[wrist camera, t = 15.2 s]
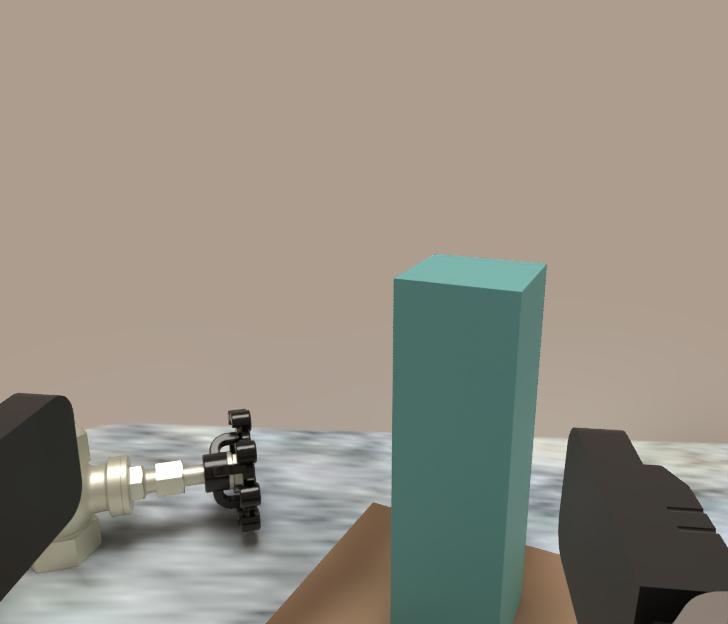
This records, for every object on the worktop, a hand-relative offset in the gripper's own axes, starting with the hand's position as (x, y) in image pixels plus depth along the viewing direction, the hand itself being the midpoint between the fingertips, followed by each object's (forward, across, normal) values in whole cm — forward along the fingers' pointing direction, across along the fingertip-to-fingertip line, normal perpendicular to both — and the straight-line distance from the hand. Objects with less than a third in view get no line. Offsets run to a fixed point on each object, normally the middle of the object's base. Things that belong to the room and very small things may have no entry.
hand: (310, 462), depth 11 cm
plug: (+14, -4, +15) cm, 21 cm away
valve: (+20, +13, +17) cm, 29 cm away
